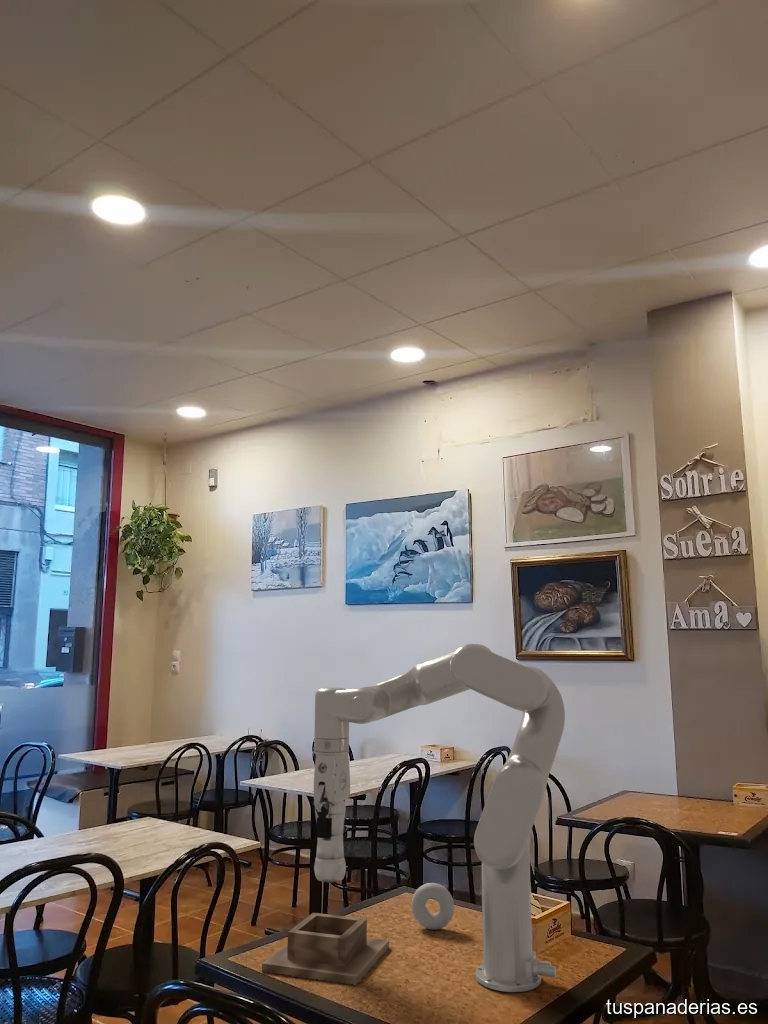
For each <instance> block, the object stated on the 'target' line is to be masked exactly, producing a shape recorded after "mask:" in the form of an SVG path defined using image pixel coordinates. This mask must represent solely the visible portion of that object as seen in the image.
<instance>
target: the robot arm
mask: <svg viewBox="0 0 768 1024" xmlns="http://www.w3.org/2000/svg"><path fill="white" fill-rule="evenodd" d="M469 690H472V691H474V692H476V693H478V694H480V695H482V696H485V697H487V698H490V699H492V700H494V701H496V702H498V703H501V704H503V705H505V706H506V707H508V708H509V707H510V708H511V709H514V710H517V711H519V712H522V718H521V721H520V725H519V727H518V730H517V732H516V736H515V738H514V739H515V740H514V743H513V745H512V748H511V750H510V752H509V755H508V757H507V759H506V761H505V763H504V764H503V765H502V767H501V768H500V769H499V770H498V772H497V773H496V775H495V777H494V780H493V782H492V784H491V788H490V790H489V793H488V795H487V799H486V801H485V804H484V806H483V810H482V813H481V815H480V818H479V821H478V824H477V826H476V829H475V832H474V836H473V845H474V846H473V847H474V850H475V853H476V855H477V857H478V858H479V860H480V861H481V916H482V920H481V923H482V927H481V928H482V959H483V960H482V962H483V963H482V964H480V965H478V966H477V968H476V969H475V972H474V973H475V980H476V981H477V982H478V983H479V984H480V985H482V986H483V987H484V988H485V987H486V988H488V989H490V990H495V991H496V992H497V991H499V992H504V993H523V992H529V991H532V990H534V989H536V988H538V987H539V986H540V984H541V983H542V976H544V977H546V978H547V977H548V978H554V979H556V977H557V968H556V965H552V963H551V961H543V960H542V961H541V960H540V959H538V958H537V956H536V955H537V953H536V951H533V936H532V934H533V933H532V907H531V906H532V905H531V903H532V902H531V893H532V892H531V891H532V890H531V832H532V830H533V826H534V824H535V822H536V818H537V816H538V813H539V809H540V807H541V806H542V805H541V804H542V802H543V800H544V796H545V793H546V791H547V783H548V780H549V775H550V773H551V770H552V767H553V766H554V762H555V759H556V755H557V751H558V749H559V746H560V743H561V739H562V736H563V732H564V729H565V721H566V713H565V712H566V711H565V704H564V701H563V697H562V695H561V692H560V690H559V689H558V687H557V686H556V684H555V683H554V681H553V680H552V679H551V678H550V676H548V675H547V674H546V673H545V672H544V671H543V670H542V669H540V668H537V667H535V666H531V665H530V666H529V665H527V666H525V665H523V664H522V663H518V662H516V661H513V660H511V659H509V658H506V657H504V656H501V655H499V654H497V653H495V652H493V651H492V650H491V649H490V647H487V646H486V645H484V644H479V643H467V644H463V645H462V646H460V647H458V648H456V650H454V651H452V652H449V653H445V654H444V655H441V656H437V657H435V658H431V659H430V660H427V661H424V662H420V663H418V664H416V665H414V666H413V667H412V668H411V669H410V670H408V671H407V672H405V673H404V674H401V675H398V676H395V677H393V678H391V679H388V680H385V681H383V682H380V683H378V684H374V685H371V686H363V687H359V688H358V687H357V688H351V689H346V688H343V687H322V688H319V689H317V690H316V692H315V696H314V732H313V734H314V740H313V742H314V743H313V746H314V747H313V754H314V755H315V763H314V773H313V776H314V777H313V805H314V810H315V809H316V813H315V818H316V817H317V822H316V838H317V837H318V838H327V839H330V838H331V837H332V818H330V814H331V808H332V804H337V803H339V802H341V801H344V803H345V802H346V800H347V799H348V798H349V797H350V796H351V773H350V770H351V769H350V760H349V753H350V749H349V748H350V723H352V724H357V725H358V724H359V725H365V724H370V723H372V722H375V721H380V720H382V719H385V718H387V717H390V716H394V715H396V714H399V713H401V712H404V711H406V710H407V711H408V710H410V709H412V708H415V707H418V706H425V705H430V704H433V703H435V702H439V701H441V700H443V699H444V700H445V699H446V698H449V697H452V696H455V695H457V694H460V693H463V692H466V691H469ZM323 799H326V800H328V801H329V802H322V801H323ZM325 806H327V810H326V808H325ZM344 828H345V827H343V831H344V830H345V829H344ZM318 838H317V839H318Z"/></svg>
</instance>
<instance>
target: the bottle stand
mask: <svg viewBox="0 0 768 1024" xmlns="http://www.w3.org/2000/svg"><path fill="white" fill-rule="evenodd" d="M367 920H368V919H367V918H362V917H354V916H352V917H351V916H344V915H335V914H327V913H320V912H312V913H311V914H309V915H308V916H307V917H305V918H304V919H303V920H302V921H300V922H299V923H298V924H296V925H295V926H294V927H292V928H291V929H290V930H289V931H287V943H286V944H284V945H283V946H282V947H280V948H279V949H277V951H276V952H274V953H272V955H271V956H269V957H268V958H267V959H265V960H264V961H263V962H262V963H261V972H262V973H268V972H270V973H269V974H275V973H278V974H277V975H282V974H285V975H284V976H289V975H291V976H290V977H296V976H297V977H299V978H303V979H310V980H316V979H318V981H323V980H326V981H325V982H330V981H334V982H333V983H337V982H340V983H339V984H344V983H345V985H351V984H353V985H352V986H357V985H358V984H357V983H360V982H361V980H362V979H363V978H364V977H365V976H366V975H365V974H368V972H369V971H370V970H371V969H372V968H373V967H372V966H375V964H376V963H377V962H378V961H379V960H380V959H381V958H382V957H383V955H384V954H385V953H386V952H387V951H388V950H389V949H390V939H389V940H387V939H380V938H373V937H372V938H371V937H368V935H367V930H368V927H367V923H368V922H367ZM388 948H389V949H388ZM387 949H388V950H387ZM380 957H381V958H380ZM379 958H380V959H379ZM378 959H379V960H378ZM371 967H372V968H371ZM364 975H365V976H364ZM363 976H364V977H363ZM297 977H296V978H297ZM362 977H363V978H362ZM361 978H362V979H361ZM356 984H357V985H356Z"/></svg>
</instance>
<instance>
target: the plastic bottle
mask: <svg viewBox="0 0 768 1024" xmlns="http://www.w3.org/2000/svg"><path fill="white" fill-rule="evenodd" d="M322 802H329V801H328V800H326V799H323V801H322ZM325 808H326V810H327V806H325ZM346 809H347V807H346V804H345V802H344V801H341V802H339V803H337V804H332V808H331V814H330V818H332V837H331V838H330V839H327V838H318V837H317V836H316V838H317V842H316V843H317V844H316V857H315V861H314V865H313V870H314V876H315V879H317V881H319V882H325V883H337V882H340V881H342V880H344V877H345V876H346V871H347V865H346V858H345V853H344V851H345V850H344V830H343V827H344V826H345V817H346V811H347V810H346ZM314 813H315V814H316V809H315V808H314ZM315 820H316V823H317V817H316V816H315ZM344 828H345V827H344Z"/></svg>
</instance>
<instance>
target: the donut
mask: <svg viewBox="0 0 768 1024" xmlns="http://www.w3.org/2000/svg"><path fill="white" fill-rule="evenodd" d="M431 899H432V900H435V901H437V902H438V904H439V910H438V911H437V912H430V911H428V908H427V907H426V906H427V902H428V901H429V900H431ZM410 906H411V913H412V915H413V917H414V919H415V920H416V921H417V922H418V924H419V925H420V926H422V927H423V928H425V929H426V930H427V929H428V930H432V931H434V930H436V931H437V930H441V929H443V928H444V927H445V928H446V926H447V925H448V924H449V923H450V922H451V920H452V919H453V916H454V915H455V901H454V898H453V897H452V894H451V892H450V891H449V890H448V889H447V888H446V887H445V886H444V885H442V884H440V883H436V882H427V883H424V884H423V885H420V886H419V887H418V888H417V889H416V890H415V891H414V893H413V895H412V899H411V905H410Z"/></svg>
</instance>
